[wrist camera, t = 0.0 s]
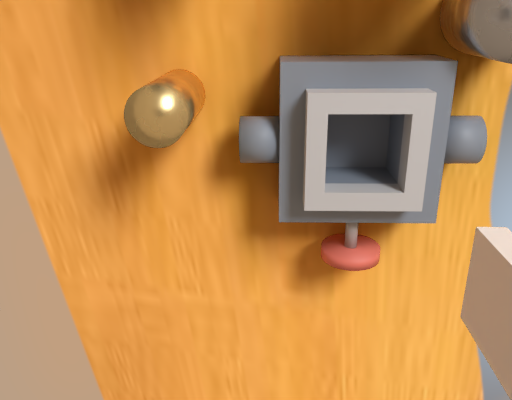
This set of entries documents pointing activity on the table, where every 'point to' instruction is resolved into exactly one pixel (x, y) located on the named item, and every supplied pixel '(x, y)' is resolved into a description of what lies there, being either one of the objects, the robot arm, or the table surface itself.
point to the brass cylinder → (164, 108)
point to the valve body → (362, 144)
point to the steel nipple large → (479, 27)
